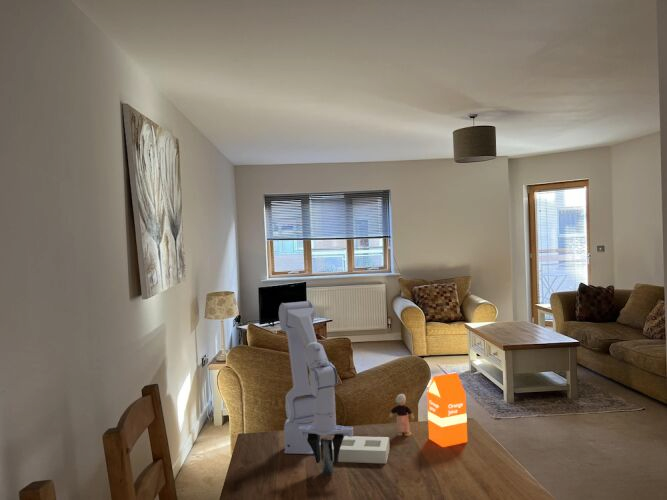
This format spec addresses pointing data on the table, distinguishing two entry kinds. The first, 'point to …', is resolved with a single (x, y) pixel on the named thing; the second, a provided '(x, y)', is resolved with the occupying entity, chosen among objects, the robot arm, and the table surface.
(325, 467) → the peg
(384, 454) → the hole block
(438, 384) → the orange juice
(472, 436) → the table surface
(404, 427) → the grandmother figurine
